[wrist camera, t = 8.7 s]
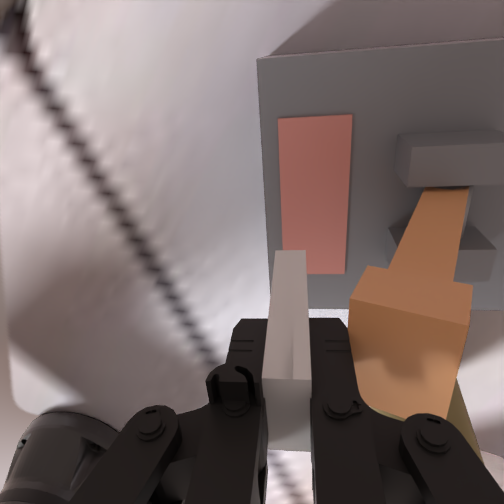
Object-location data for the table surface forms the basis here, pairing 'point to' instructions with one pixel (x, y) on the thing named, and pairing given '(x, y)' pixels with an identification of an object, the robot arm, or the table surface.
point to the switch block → (382, 157)
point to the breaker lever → (414, 312)
